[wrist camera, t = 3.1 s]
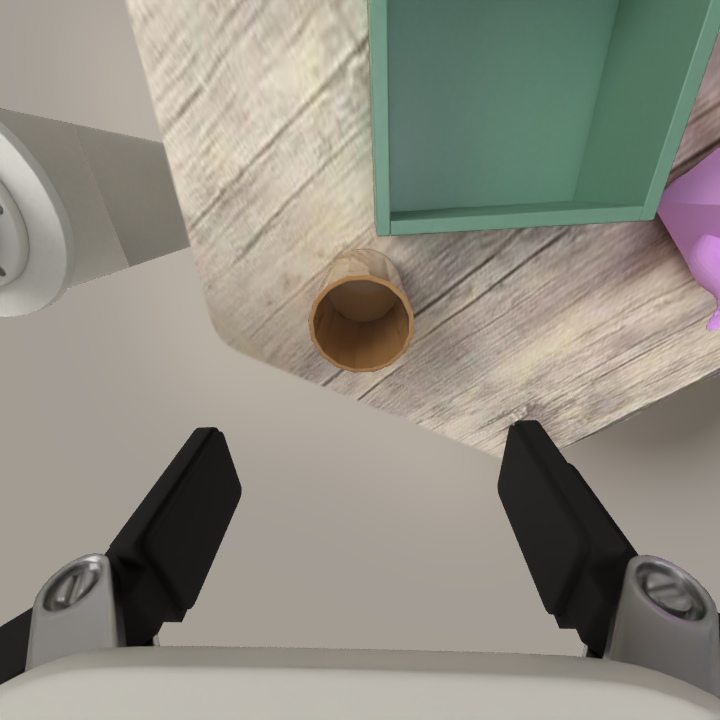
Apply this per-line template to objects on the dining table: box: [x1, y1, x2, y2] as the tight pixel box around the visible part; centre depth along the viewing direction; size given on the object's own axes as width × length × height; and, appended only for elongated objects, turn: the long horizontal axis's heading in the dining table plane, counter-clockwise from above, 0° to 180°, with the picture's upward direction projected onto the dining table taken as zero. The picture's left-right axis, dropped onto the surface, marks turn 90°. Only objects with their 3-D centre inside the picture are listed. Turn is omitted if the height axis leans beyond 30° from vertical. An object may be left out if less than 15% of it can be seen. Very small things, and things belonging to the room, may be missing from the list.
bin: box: [367, 0, 720, 236], centre depth 18 cm, size 16×16×8 cm
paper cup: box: [308, 249, 414, 373], centre depth 24 cm, size 7×7×9 cm
